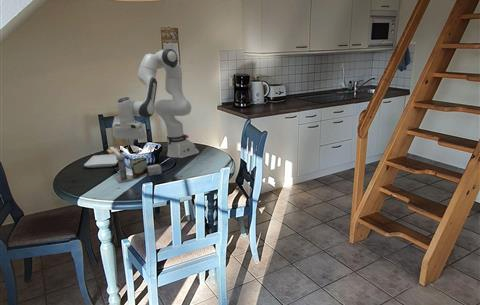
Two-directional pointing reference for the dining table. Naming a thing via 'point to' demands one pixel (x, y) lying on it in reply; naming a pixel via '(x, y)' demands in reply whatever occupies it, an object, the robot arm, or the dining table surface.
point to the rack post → (123, 173)
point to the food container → (138, 167)
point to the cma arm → (116, 153)
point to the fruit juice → (117, 141)
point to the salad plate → (101, 161)
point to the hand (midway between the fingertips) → (130, 145)
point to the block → (153, 170)
